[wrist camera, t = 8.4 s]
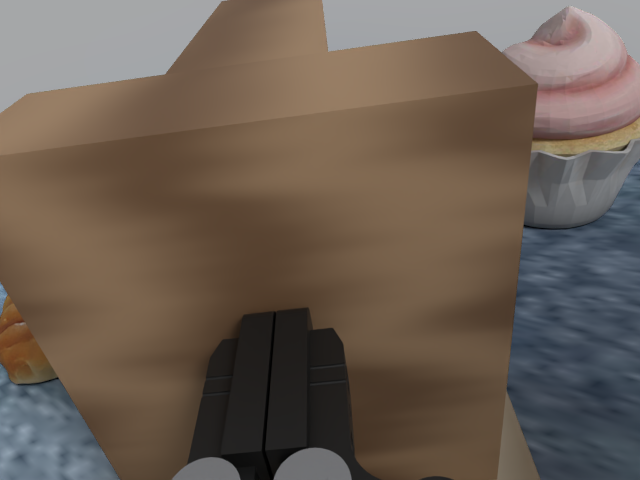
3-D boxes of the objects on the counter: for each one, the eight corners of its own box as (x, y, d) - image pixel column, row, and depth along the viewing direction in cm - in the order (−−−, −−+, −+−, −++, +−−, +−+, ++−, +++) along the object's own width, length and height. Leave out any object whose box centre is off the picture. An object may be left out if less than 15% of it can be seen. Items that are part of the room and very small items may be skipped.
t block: (416, 227, 27) (408, -27, 21) (497, 479, 16) (538, 84, 9) (210, 252, 28) (137, 13, 21) (139, 512, 16) (-71, 164, 10)
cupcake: (424, 213, 29) (419, 25, 23) (509, 150, 34) (522, -18, 28) (598, 274, 23) (648, 42, 18) (671, 187, 28) (727, -17, 22)
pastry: (119, 389, 21) (82, 321, 19) (-33, 402, 22) (-84, 337, 20) (175, 255, 29) (154, 196, 27) (62, 267, 30) (32, 210, 28)
